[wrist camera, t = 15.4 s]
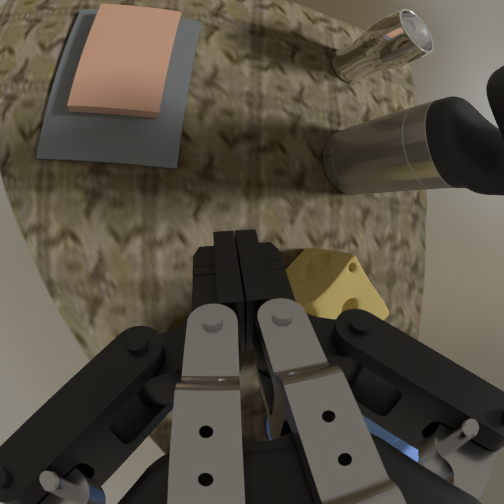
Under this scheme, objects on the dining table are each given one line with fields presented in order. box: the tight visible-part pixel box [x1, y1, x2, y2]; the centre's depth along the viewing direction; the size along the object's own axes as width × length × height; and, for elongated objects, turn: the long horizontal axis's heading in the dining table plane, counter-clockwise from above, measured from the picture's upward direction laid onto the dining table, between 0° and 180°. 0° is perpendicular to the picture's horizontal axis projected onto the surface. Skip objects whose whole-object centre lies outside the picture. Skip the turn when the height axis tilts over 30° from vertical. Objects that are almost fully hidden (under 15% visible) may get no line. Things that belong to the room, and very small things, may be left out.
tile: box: [67, 4, 182, 118], centre depth 28 cm, size 10×2×14 cm
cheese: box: [286, 248, 389, 321], centre depth 36 cm, size 10×11×10 cm
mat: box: [36, 9, 202, 169], centre depth 29 cm, size 16×20×1 cm
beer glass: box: [331, 9, 434, 84], centre depth 34 cm, size 7×7×15 cm
